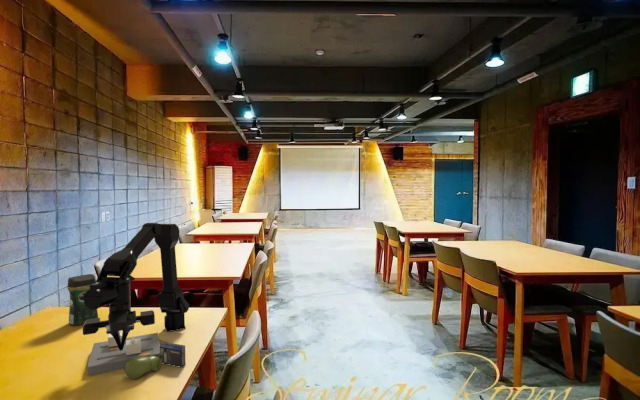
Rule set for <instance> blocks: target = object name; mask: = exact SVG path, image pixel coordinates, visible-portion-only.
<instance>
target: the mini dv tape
mask: <svg viewBox="0 0 640 400" xmlns="http://www.w3.org/2000/svg"><path fill="white" fill-rule="evenodd" d="M159 344H160V359H161V361H162V363H164V364H163V365H166V364H170V365H169V366H171V365H175V366H174V367H176V366H180V367H179V368H181V367H182V368H184V367H185V366H186V365H187V364H186V363H187V362H186V345H183V344H178V343H173V342H167V341H162V342H159ZM183 366H184V367H183Z"/></svg>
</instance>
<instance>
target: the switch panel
mask: <svg viewBox="0 0 640 400" xmlns="http://www.w3.org/2000/svg"><path fill="white" fill-rule="evenodd" d="M132 338H135V339H138V338H141V353H136V354H131V355H126V341H125V344H124V347H123V350H121V351H120V350H119V348H118V346H113V347H108V340H106V341H99V342H94V343H93V346H92V348H91V351H90V356H89V358H88V359H89V360H88V363H87V367H86V368H87V371H86V372H87V376H88V377H89V376H94V375H99V374H104V373H108V372H113V371H119V370H125V366H126V364H127V362H128V361H129V360H131V359H133V358H136V357H142V356H145V357H150V356H156V357H160V339H159V332H154V333H149V334H147V333H146V334H142V335H137V336H131V337H127V338H126V340H132Z"/></svg>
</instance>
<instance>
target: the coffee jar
mask: <svg viewBox="0 0 640 400" xmlns="http://www.w3.org/2000/svg"><path fill="white" fill-rule="evenodd" d="M96 280H97V278H96V276H95V275H94V274H92V273H88V274H81V275H76V276H70V277H68V279H67V285H66V286H67V287H66V288H67V291H68V292H69V308H68V309H69V311H68V323H69V324H70V326H83V325H84V322H85V321H86V320H87V319H94V318H99V313H98V309H95V310H91V309H89V308H88V307H87V306H86V305H85V303H84V296H85V293H86V292H87V291H88V290H89V289H90V285H91V284H97V282H96Z"/></svg>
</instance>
